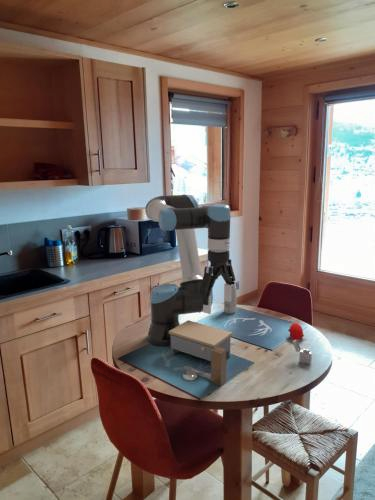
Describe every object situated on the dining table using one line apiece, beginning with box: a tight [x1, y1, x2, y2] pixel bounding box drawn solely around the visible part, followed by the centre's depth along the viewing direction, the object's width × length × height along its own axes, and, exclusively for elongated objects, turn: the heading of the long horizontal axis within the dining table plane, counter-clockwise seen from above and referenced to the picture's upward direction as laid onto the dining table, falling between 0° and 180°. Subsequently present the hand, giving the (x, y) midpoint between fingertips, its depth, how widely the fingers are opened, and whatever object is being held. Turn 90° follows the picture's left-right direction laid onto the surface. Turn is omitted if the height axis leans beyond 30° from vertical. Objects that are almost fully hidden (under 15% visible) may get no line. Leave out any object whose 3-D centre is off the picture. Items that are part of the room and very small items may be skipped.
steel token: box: [182, 371, 198, 382], centre depth 136 cm, size 5×5×1 cm
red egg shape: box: [287, 322, 305, 342], centre depth 164 cm, size 8×6×6 cm
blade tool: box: [183, 346, 227, 387], centre depth 135 cm, size 16×4×12 cm, turn 54°
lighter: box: [292, 340, 313, 365], centre depth 145 cm, size 7×2×8 cm, turn 58°
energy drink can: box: [223, 282, 237, 315], centre depth 193 cm, size 6×6×15 cm
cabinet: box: [169, 319, 233, 362], centre depth 149 cm, size 21×14×10 cm, turn 54°
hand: (217, 306), depth 138 cm, fingers open, 13 cm apart
